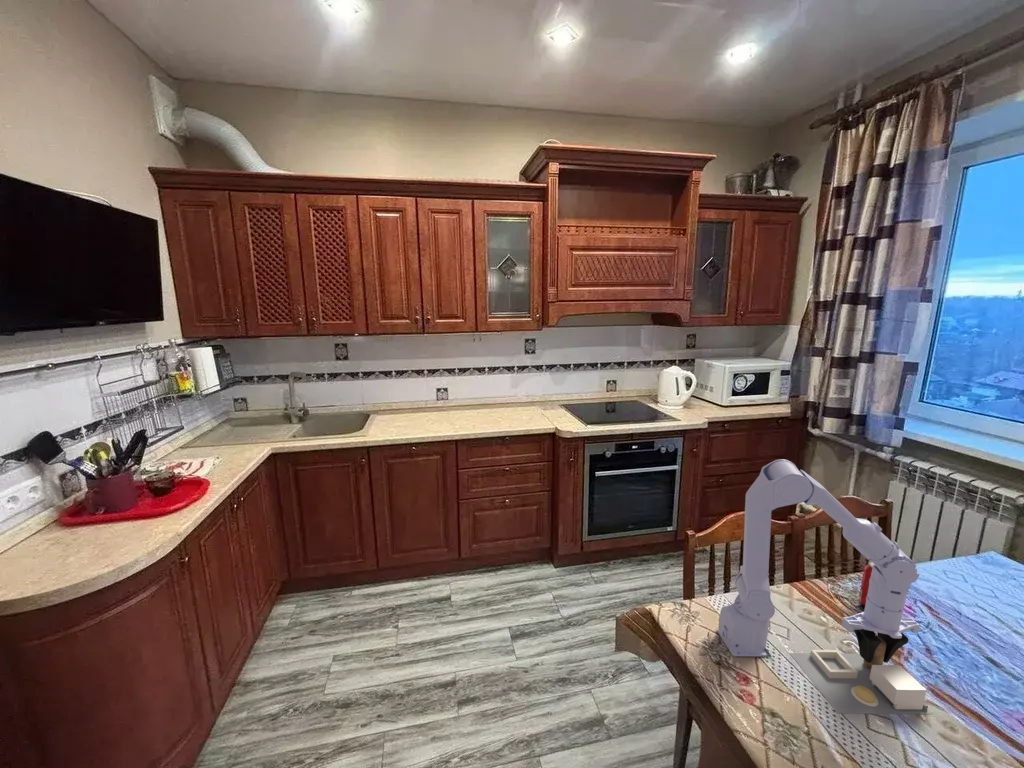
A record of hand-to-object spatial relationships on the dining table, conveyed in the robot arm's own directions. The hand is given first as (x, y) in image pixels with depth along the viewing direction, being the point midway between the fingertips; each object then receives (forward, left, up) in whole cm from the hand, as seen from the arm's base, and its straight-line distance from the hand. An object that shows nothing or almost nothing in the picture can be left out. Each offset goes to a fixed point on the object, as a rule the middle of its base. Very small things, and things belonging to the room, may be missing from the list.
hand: (873, 658), depth 89 cm
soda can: (+18, +19, -3) cm, 26 cm away
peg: (0, 0, -1) cm, 1 cm away
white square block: (-1, -7, -2) cm, 7 cm away
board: (-6, -4, -3) cm, 8 cm away
